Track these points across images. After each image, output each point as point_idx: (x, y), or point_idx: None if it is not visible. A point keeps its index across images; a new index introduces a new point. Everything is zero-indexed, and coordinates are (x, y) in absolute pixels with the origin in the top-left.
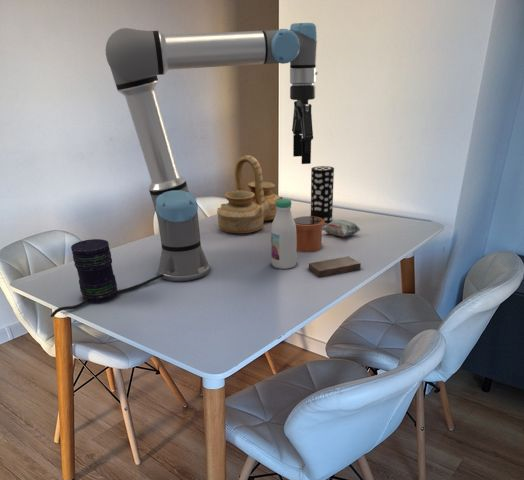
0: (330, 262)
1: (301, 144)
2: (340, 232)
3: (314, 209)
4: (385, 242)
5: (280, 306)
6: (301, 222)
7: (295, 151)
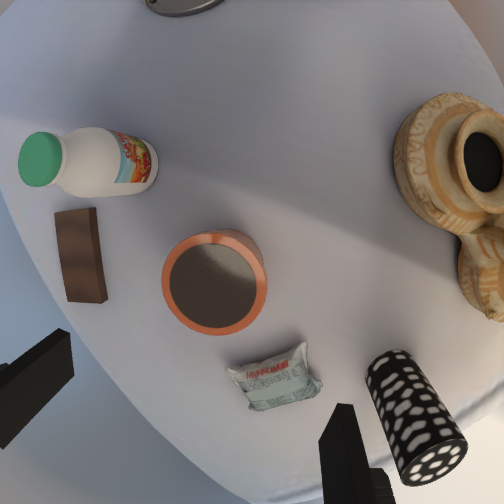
0: (81, 252)
1: (325, 497)
2: (245, 367)
3: (396, 373)
4: (192, 413)
5: (12, 121)
6: (196, 260)
7: (337, 435)
